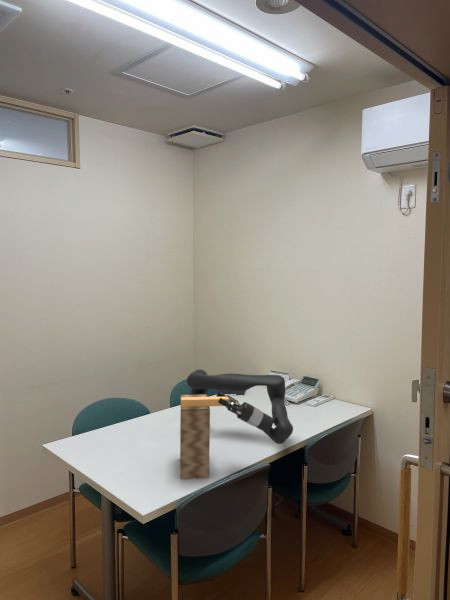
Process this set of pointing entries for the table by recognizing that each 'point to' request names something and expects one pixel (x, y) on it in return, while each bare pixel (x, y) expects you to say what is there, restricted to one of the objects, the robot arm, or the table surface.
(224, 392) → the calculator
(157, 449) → the table surface
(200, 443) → the stand
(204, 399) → the rod
